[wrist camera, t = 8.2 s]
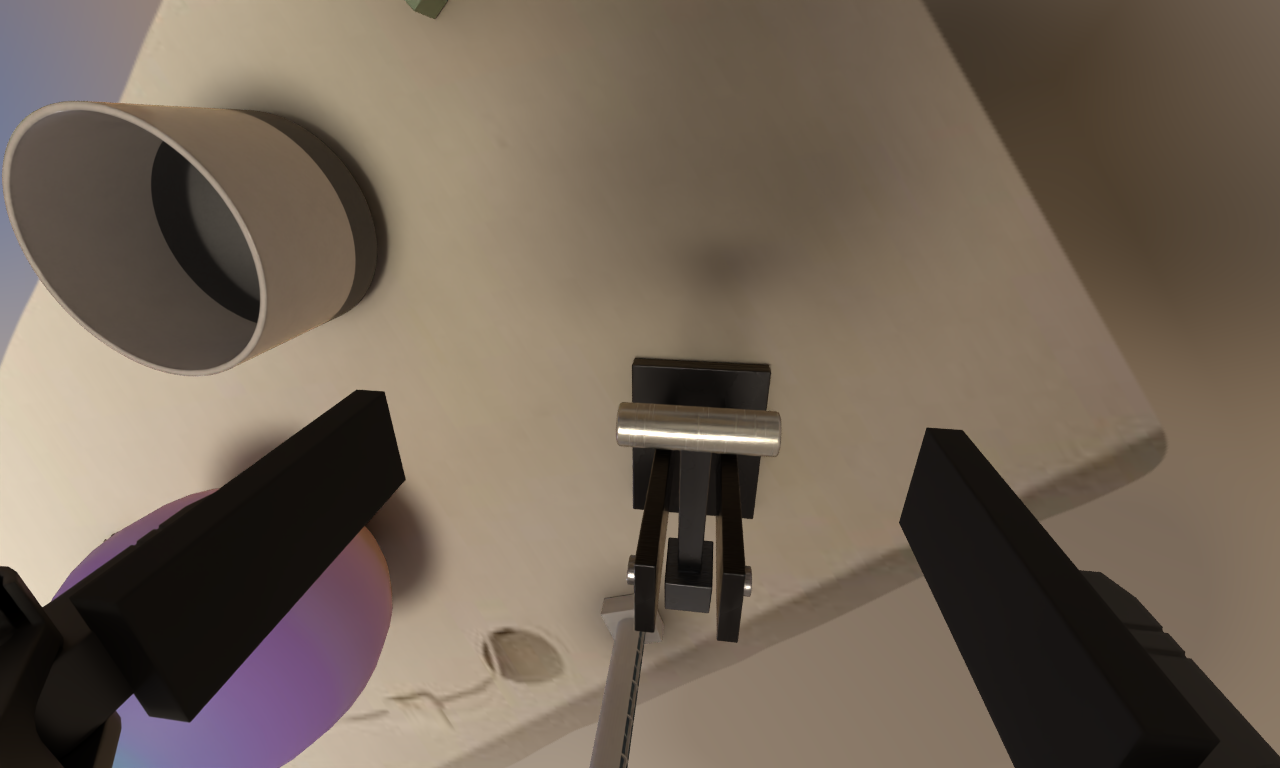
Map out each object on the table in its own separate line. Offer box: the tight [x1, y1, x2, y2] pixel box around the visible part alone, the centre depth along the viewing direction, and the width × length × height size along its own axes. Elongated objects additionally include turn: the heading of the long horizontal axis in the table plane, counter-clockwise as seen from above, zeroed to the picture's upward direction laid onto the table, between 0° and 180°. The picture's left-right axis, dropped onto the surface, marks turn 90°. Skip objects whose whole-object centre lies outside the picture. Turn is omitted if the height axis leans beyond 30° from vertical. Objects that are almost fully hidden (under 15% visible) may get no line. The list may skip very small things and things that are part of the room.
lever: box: [616, 402, 781, 613], centre depth 22 cm, size 13×6×2 cm, turn 0°
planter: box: [2, 101, 377, 376], centre depth 29 cm, size 13×13×10 cm
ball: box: [52, 488, 393, 768], centre depth 37 cm, size 20×20×20 cm
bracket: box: [627, 358, 771, 643], centre depth 31 cm, size 12×9×15 cm
